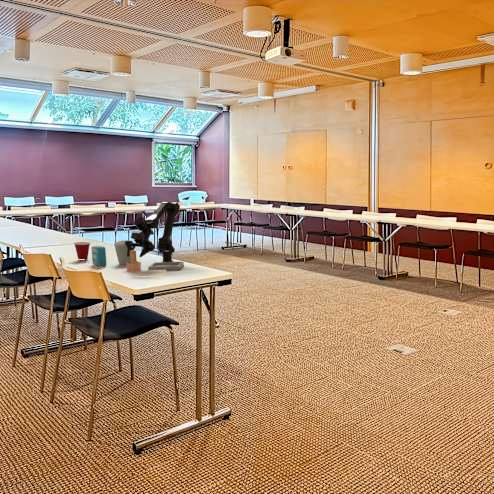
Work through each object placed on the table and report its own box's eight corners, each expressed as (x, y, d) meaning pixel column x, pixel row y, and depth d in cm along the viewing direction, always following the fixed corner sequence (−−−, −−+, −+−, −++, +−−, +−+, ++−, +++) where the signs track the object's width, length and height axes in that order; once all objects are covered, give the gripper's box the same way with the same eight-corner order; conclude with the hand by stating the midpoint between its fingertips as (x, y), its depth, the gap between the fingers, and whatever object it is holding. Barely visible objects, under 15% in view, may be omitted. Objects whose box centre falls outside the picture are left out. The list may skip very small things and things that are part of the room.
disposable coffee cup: (128, 266, 334) (127, 242, 332) (112, 266, 336) (110, 242, 334) (135, 263, 344) (134, 240, 342) (119, 263, 347) (118, 240, 345)
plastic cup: (88, 261, 362) (87, 243, 361) (72, 261, 363) (71, 243, 361) (93, 258, 373) (92, 241, 371) (78, 259, 373) (76, 241, 372)
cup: (129, 269, 321) (128, 261, 321) (142, 269, 321) (141, 261, 320) (125, 272, 313) (124, 263, 313) (139, 271, 313) (138, 263, 312)
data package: (92, 264, 346) (91, 246, 344) (99, 264, 348) (98, 245, 347) (99, 267, 336) (98, 247, 334) (106, 266, 339) (105, 247, 337)
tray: (154, 266, 330) (154, 262, 330) (183, 265, 330) (183, 261, 329) (148, 271, 315) (148, 266, 314) (179, 270, 314) (179, 265, 313)
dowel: (131, 269, 319) (130, 250, 317) (137, 268, 319) (136, 250, 317) (130, 270, 315) (128, 251, 314) (136, 269, 315) (135, 251, 314)
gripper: (125, 227, 323) (114, 247, 315) (150, 227, 315) (139, 248, 306) (134, 238, 331) (123, 259, 323) (159, 239, 323) (149, 260, 314)
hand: (133, 256), depth 316 cm, fingers open, 9 cm apart
